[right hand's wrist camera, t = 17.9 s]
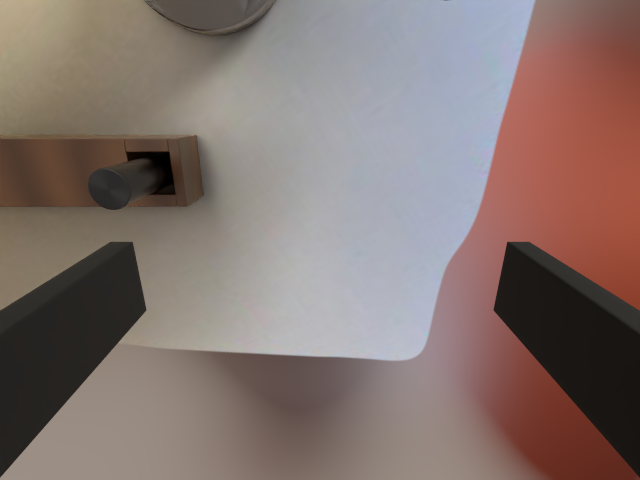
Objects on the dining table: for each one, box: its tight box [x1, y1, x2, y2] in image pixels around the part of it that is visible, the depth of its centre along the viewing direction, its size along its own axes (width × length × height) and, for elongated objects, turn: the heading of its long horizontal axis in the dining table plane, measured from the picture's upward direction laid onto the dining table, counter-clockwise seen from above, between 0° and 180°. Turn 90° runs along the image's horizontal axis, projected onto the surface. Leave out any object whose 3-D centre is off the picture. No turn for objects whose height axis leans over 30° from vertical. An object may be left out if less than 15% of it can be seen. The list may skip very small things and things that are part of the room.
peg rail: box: [0, 135, 203, 206], centre depth 35 cm, size 26×6×5 cm, turn 90°
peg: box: [88, 152, 174, 210], centre depth 32 cm, size 3×3×12 cm
